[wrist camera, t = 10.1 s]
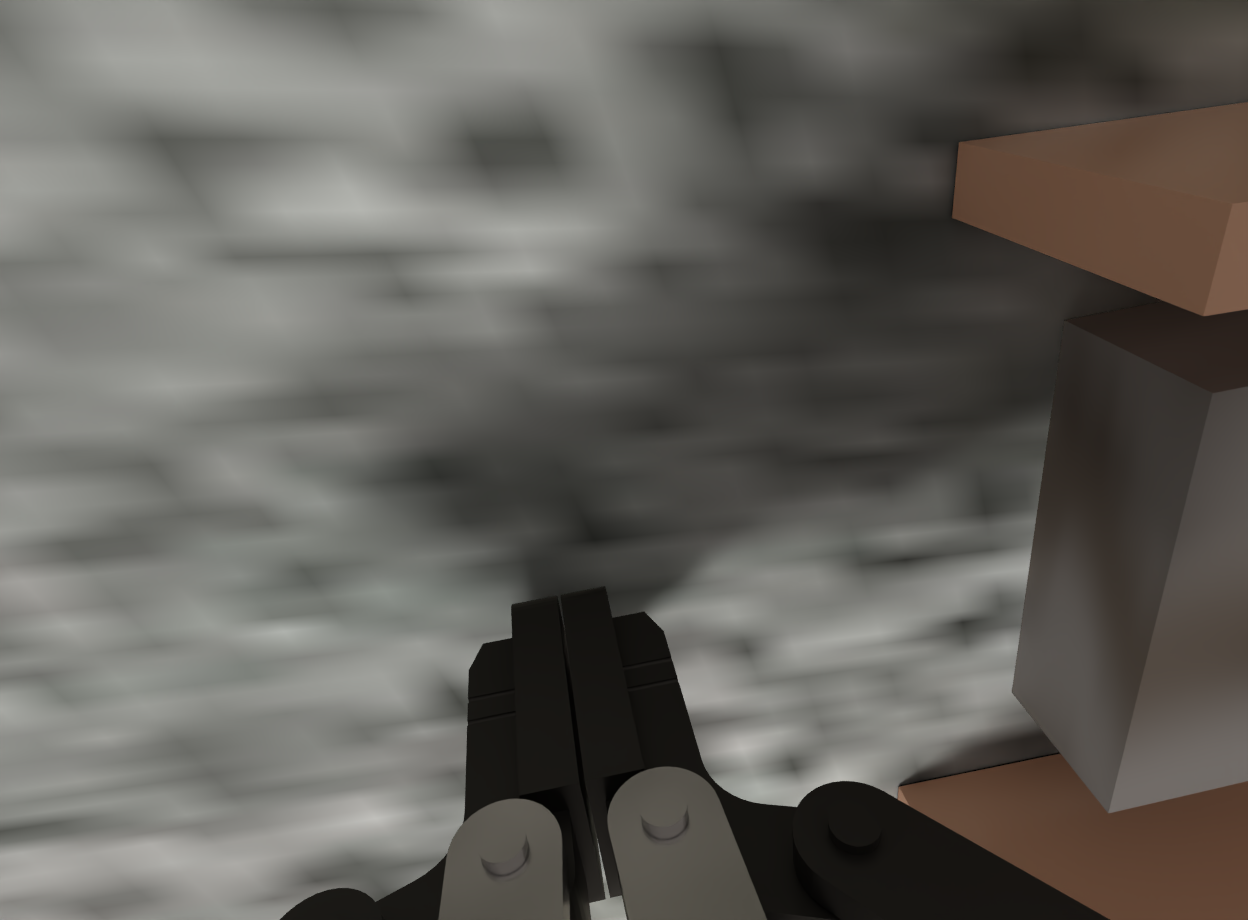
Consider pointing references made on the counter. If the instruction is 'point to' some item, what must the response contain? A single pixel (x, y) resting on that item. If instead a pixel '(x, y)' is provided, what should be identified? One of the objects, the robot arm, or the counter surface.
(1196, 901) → the three-sided wooden frame
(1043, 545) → the mounted wooden block
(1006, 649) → the counter surface
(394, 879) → the counter surface
